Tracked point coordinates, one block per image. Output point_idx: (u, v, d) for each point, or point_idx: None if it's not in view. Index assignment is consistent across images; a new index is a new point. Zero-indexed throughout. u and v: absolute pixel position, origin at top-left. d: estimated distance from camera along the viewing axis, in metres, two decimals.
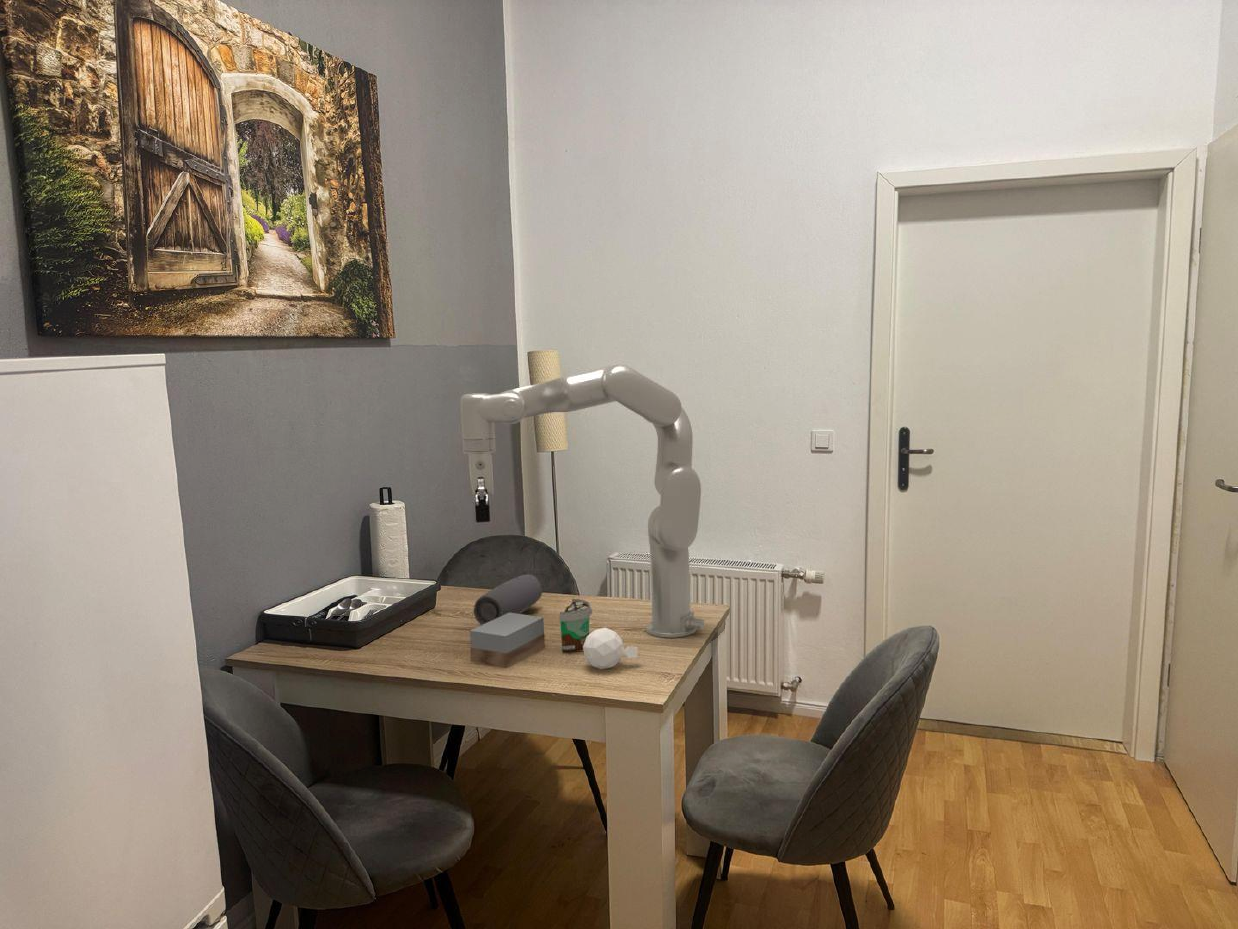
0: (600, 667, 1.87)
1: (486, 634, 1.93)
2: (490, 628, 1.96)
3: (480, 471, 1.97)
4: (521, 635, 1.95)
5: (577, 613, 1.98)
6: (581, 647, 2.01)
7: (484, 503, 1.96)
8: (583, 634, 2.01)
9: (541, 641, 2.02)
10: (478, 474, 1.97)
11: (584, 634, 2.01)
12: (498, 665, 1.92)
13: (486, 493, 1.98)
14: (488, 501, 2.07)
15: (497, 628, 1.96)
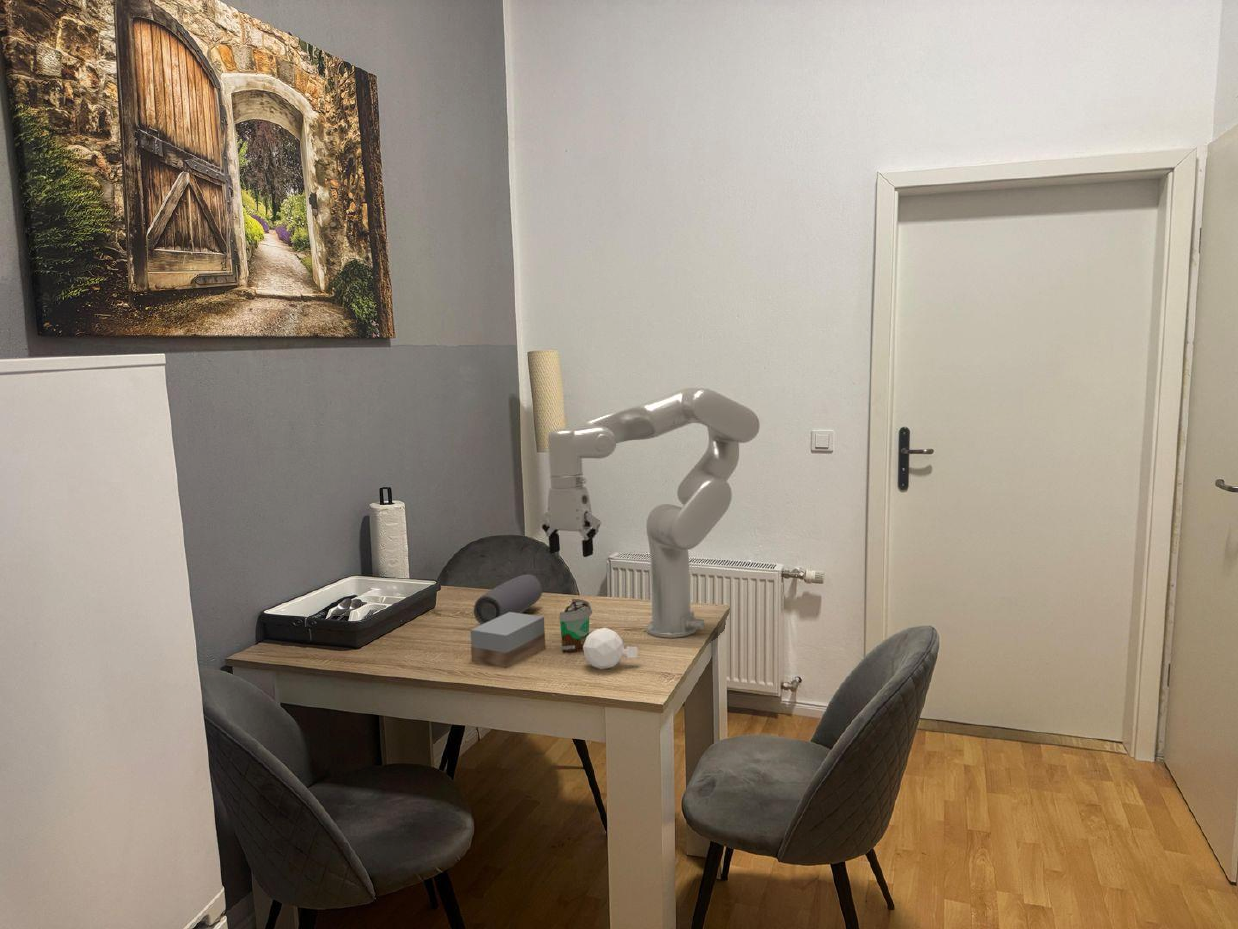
0: (600, 667, 1.87)
1: (487, 633, 1.92)
2: (491, 627, 1.96)
3: (585, 505, 1.97)
4: (522, 635, 1.95)
5: (577, 613, 1.98)
6: (581, 647, 2.01)
7: (593, 536, 1.98)
8: (583, 634, 2.01)
9: (541, 640, 2.02)
10: (584, 509, 1.97)
11: (584, 634, 2.01)
12: (499, 664, 1.92)
13: (588, 527, 1.99)
14: (558, 537, 2.05)
15: (498, 628, 1.95)
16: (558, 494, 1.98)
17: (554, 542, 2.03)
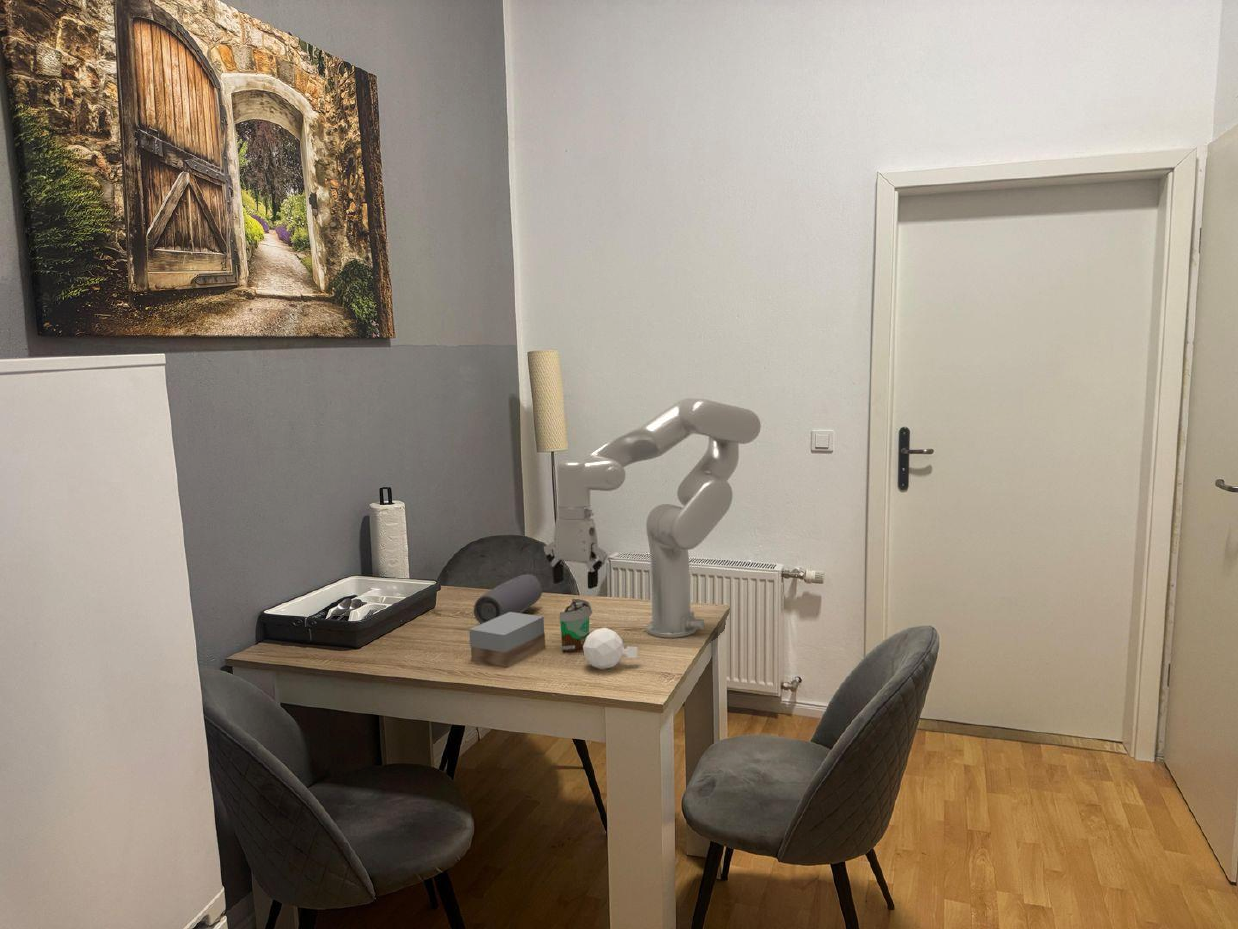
0: (600, 667, 1.87)
1: (485, 633, 1.93)
2: (489, 627, 1.96)
3: (592, 537, 1.98)
4: (520, 635, 1.95)
5: (577, 613, 1.98)
6: (581, 647, 2.01)
7: (599, 568, 1.98)
8: (583, 634, 2.01)
9: (541, 640, 2.02)
10: (591, 541, 1.98)
11: (584, 634, 2.01)
12: (499, 664, 1.92)
13: (594, 558, 2.00)
14: (562, 568, 2.05)
15: (496, 627, 1.96)
16: (565, 525, 1.98)
17: (558, 572, 2.03)
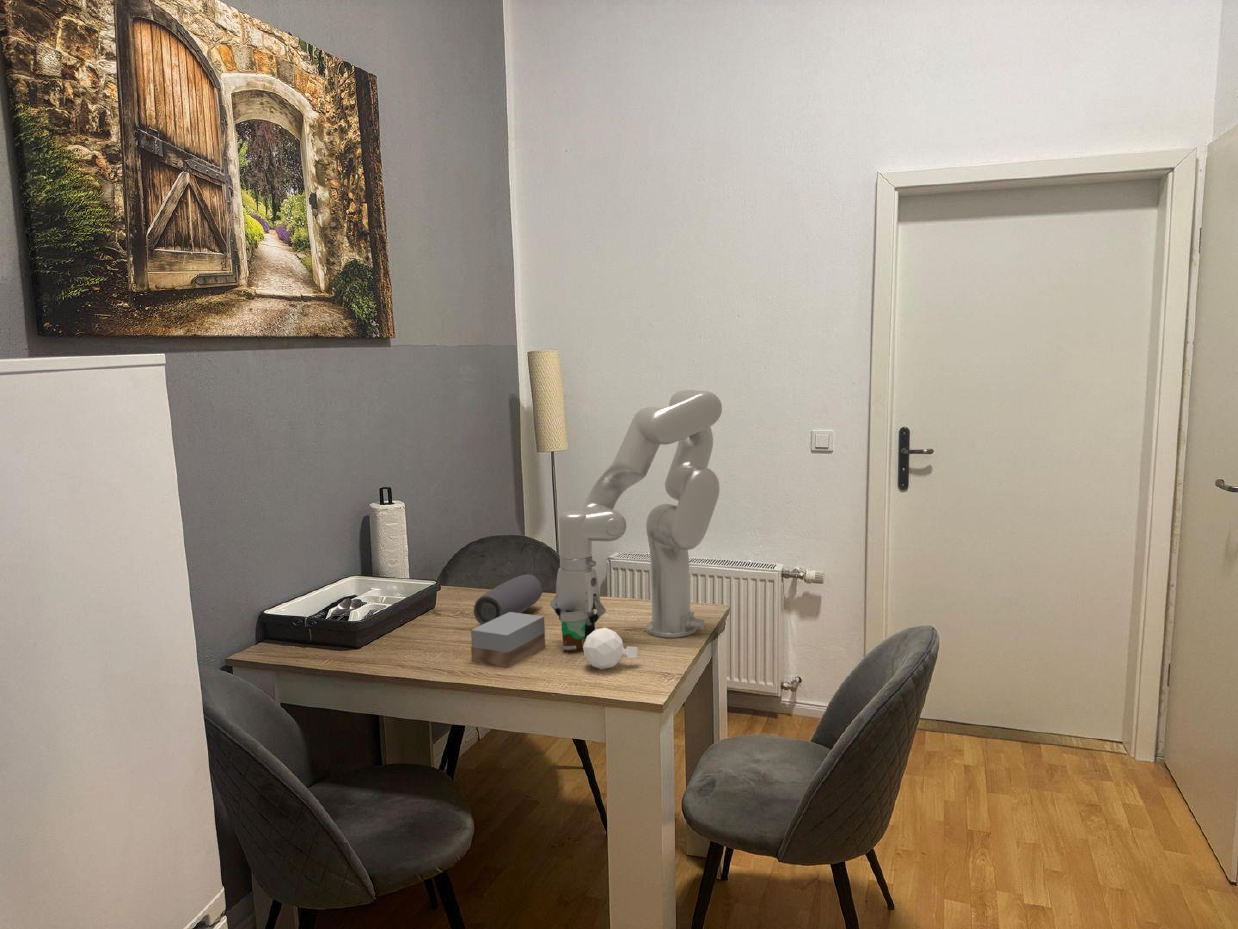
0: (600, 667, 1.87)
1: (488, 633, 1.93)
2: (491, 627, 1.96)
3: (594, 588, 1.99)
4: (522, 635, 1.95)
5: (578, 613, 1.98)
6: (582, 647, 2.01)
7: (595, 622, 2.01)
8: (584, 634, 2.00)
9: (541, 640, 2.02)
10: (593, 591, 1.99)
11: None
12: (499, 664, 1.92)
13: (593, 611, 2.02)
14: None
15: (498, 628, 1.95)
16: (567, 576, 2.00)
17: None
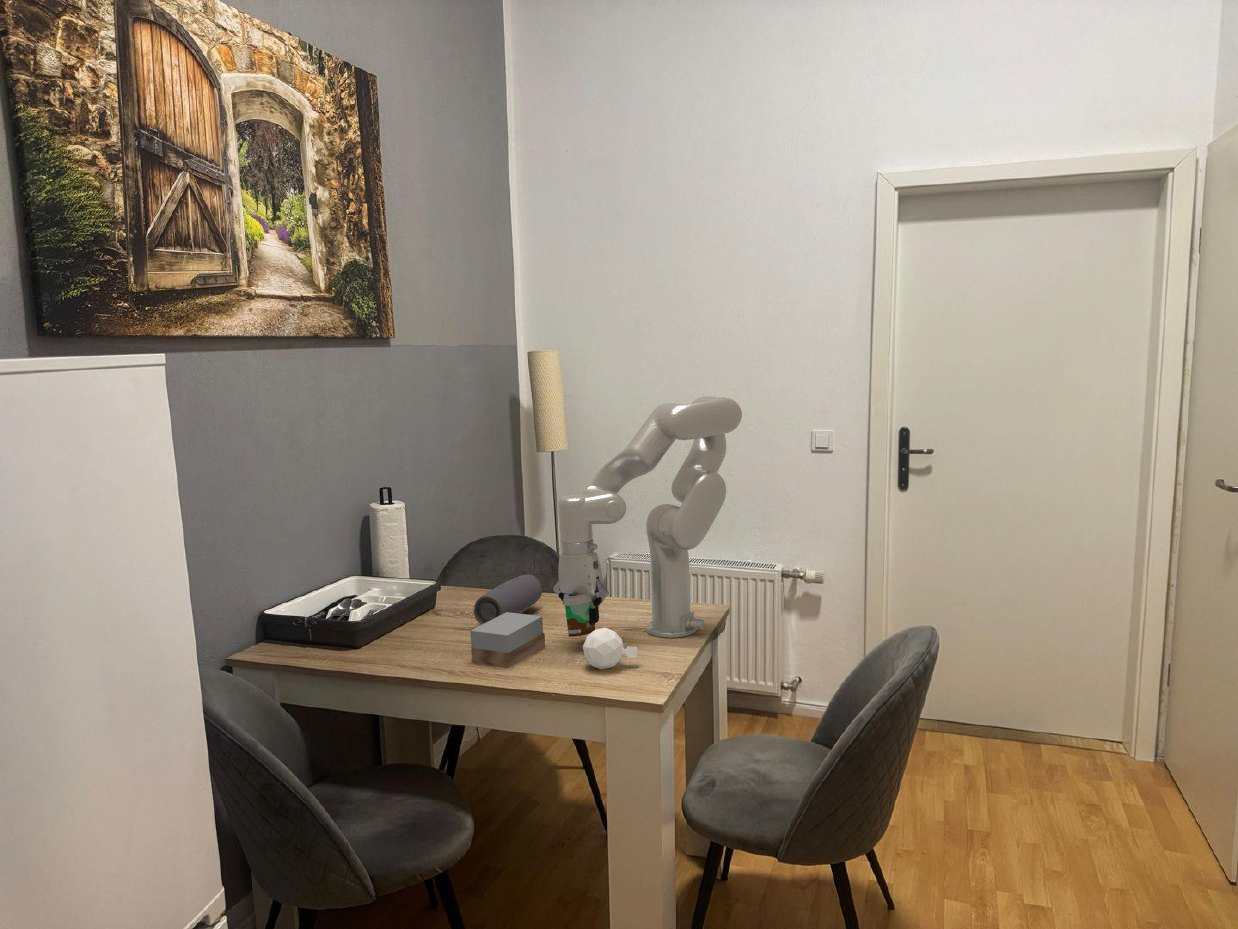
0: (600, 667, 1.87)
1: (488, 634, 1.92)
2: (490, 627, 1.96)
3: (596, 571, 1.99)
4: (522, 635, 1.96)
5: (582, 597, 1.98)
6: (587, 631, 2.01)
7: None
8: None
9: (541, 640, 2.03)
10: (596, 574, 1.99)
11: None
12: (499, 664, 1.92)
13: (596, 594, 2.02)
14: None
15: (498, 628, 1.95)
16: (569, 560, 2.00)
17: None
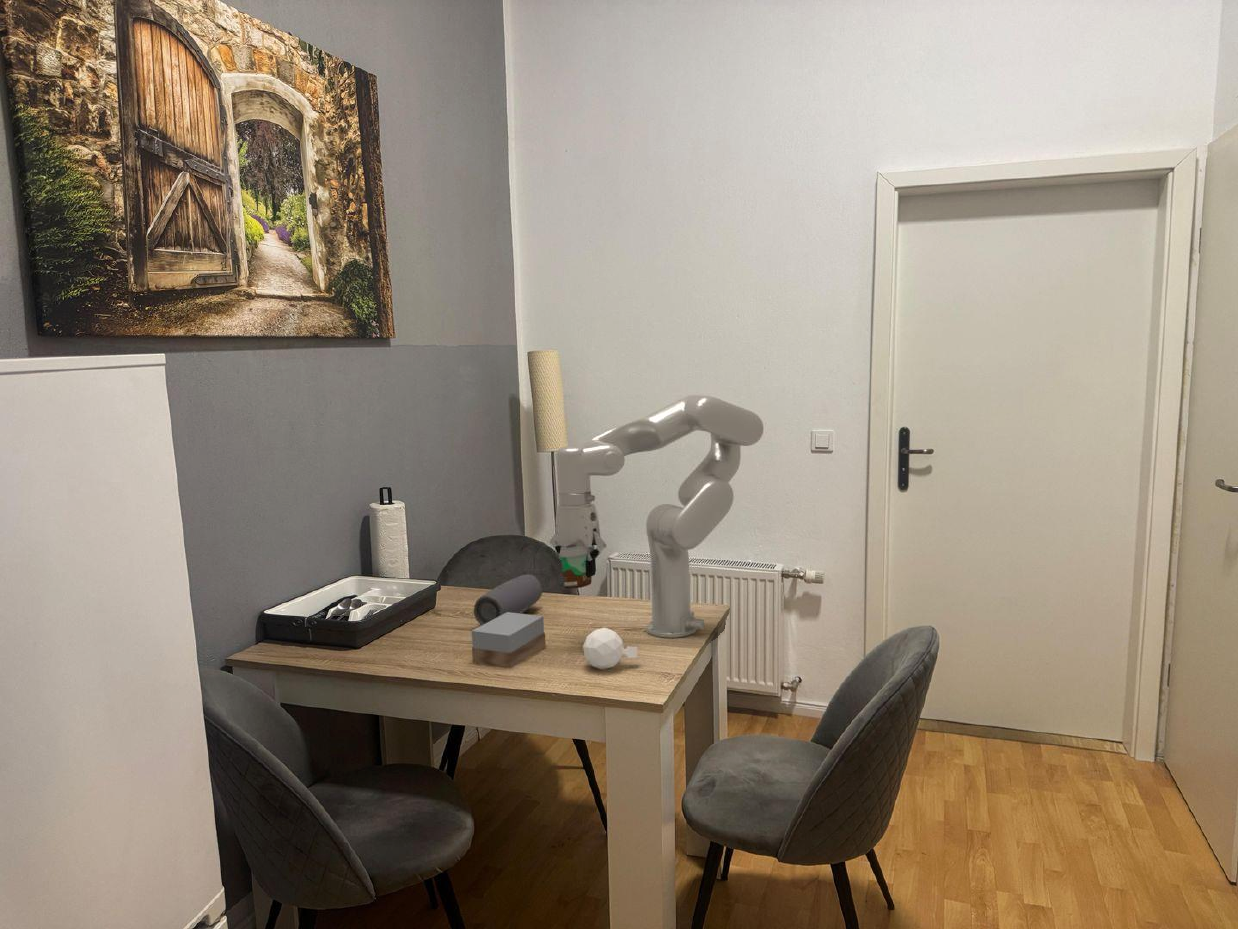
0: (600, 667, 1.87)
1: (489, 634, 1.92)
2: (492, 628, 1.96)
3: (594, 523, 1.98)
4: (523, 635, 1.95)
5: (578, 548, 1.96)
6: (583, 583, 1.99)
7: None
8: (585, 570, 1.99)
9: (542, 640, 2.02)
10: (593, 526, 1.97)
11: None
12: (500, 665, 1.92)
13: (593, 547, 2.00)
14: None
15: (499, 628, 1.95)
16: (566, 511, 1.98)
17: None
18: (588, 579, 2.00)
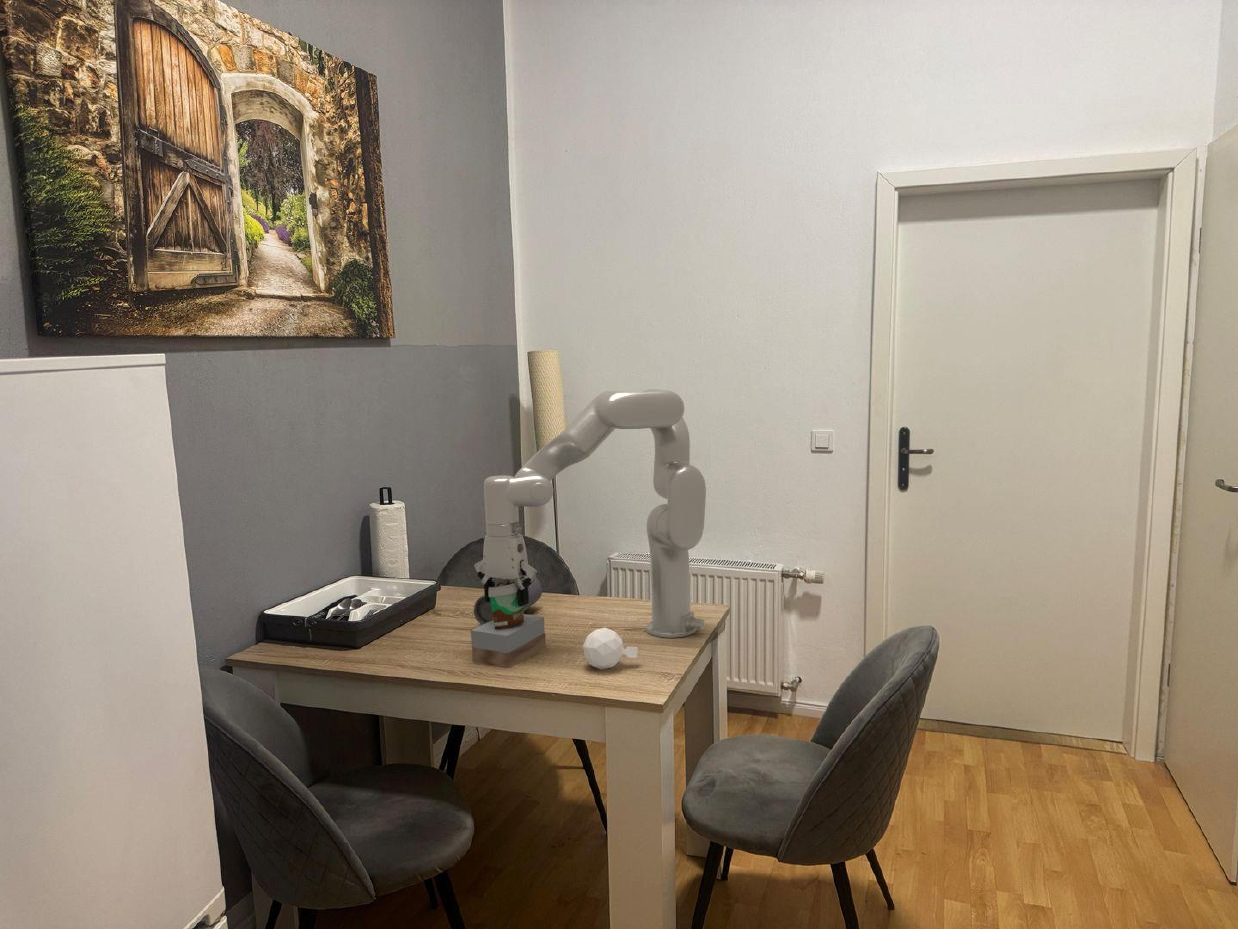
0: (600, 667, 1.87)
1: (488, 634, 1.92)
2: (491, 627, 1.96)
3: (521, 554, 1.94)
4: (522, 635, 1.95)
5: (507, 588, 1.93)
6: (514, 623, 1.96)
7: (529, 585, 1.95)
8: (515, 609, 1.95)
9: (542, 640, 2.02)
10: (520, 558, 1.94)
11: (517, 609, 1.96)
12: (500, 665, 1.92)
13: (524, 575, 1.96)
14: (494, 585, 2.02)
15: None
16: (493, 542, 1.95)
17: None
18: (519, 618, 1.97)
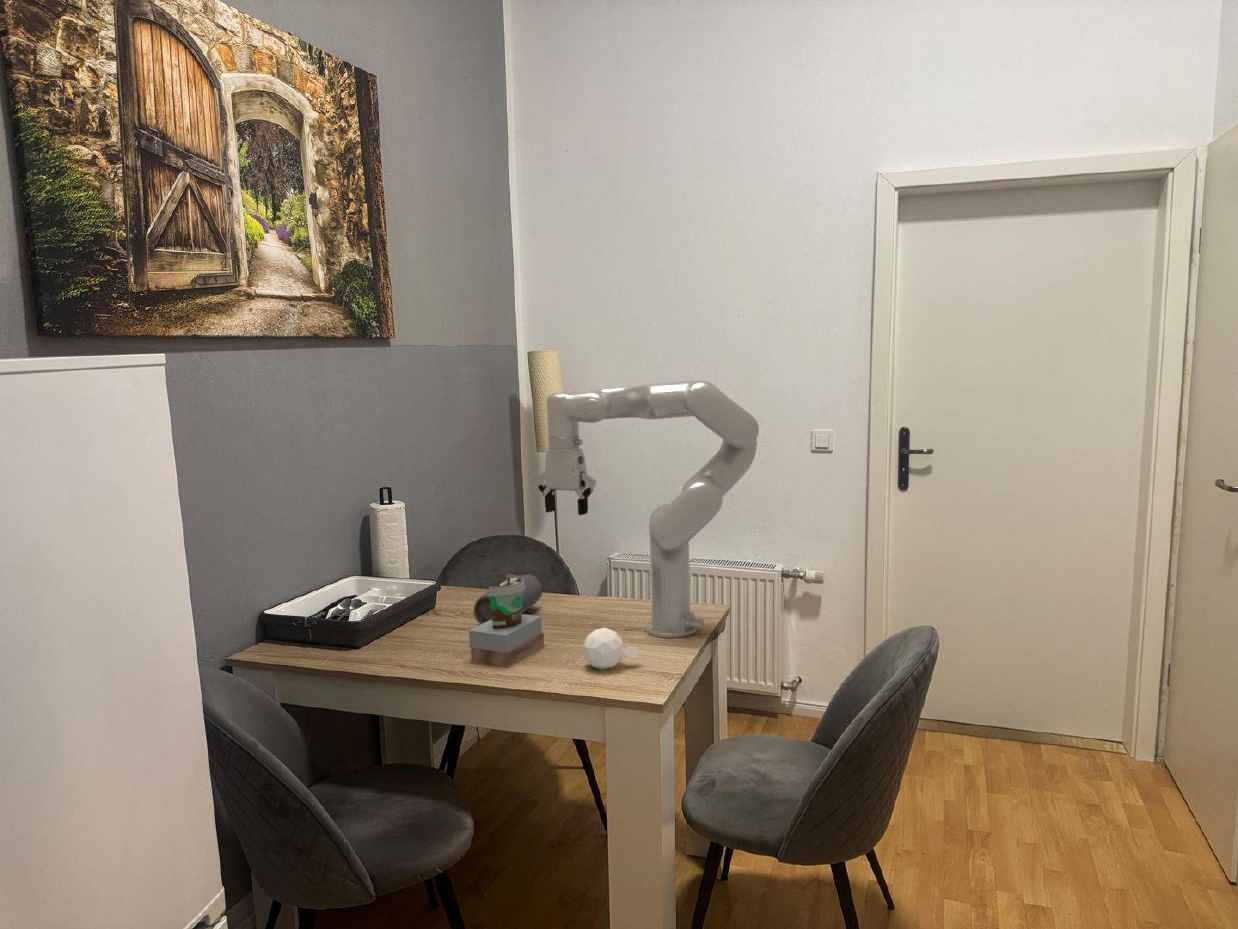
0: (600, 667, 1.87)
1: (486, 634, 1.92)
2: (489, 627, 1.96)
3: (581, 466, 2.07)
4: (520, 635, 1.96)
5: (507, 588, 1.94)
6: (512, 623, 1.96)
7: (588, 495, 2.08)
8: (514, 610, 1.96)
9: (540, 640, 2.03)
10: (580, 469, 2.07)
11: (515, 610, 1.96)
12: (500, 664, 1.92)
13: (583, 486, 2.09)
14: None
15: None
16: (555, 455, 2.07)
17: (550, 502, 2.13)
18: (517, 619, 1.97)
